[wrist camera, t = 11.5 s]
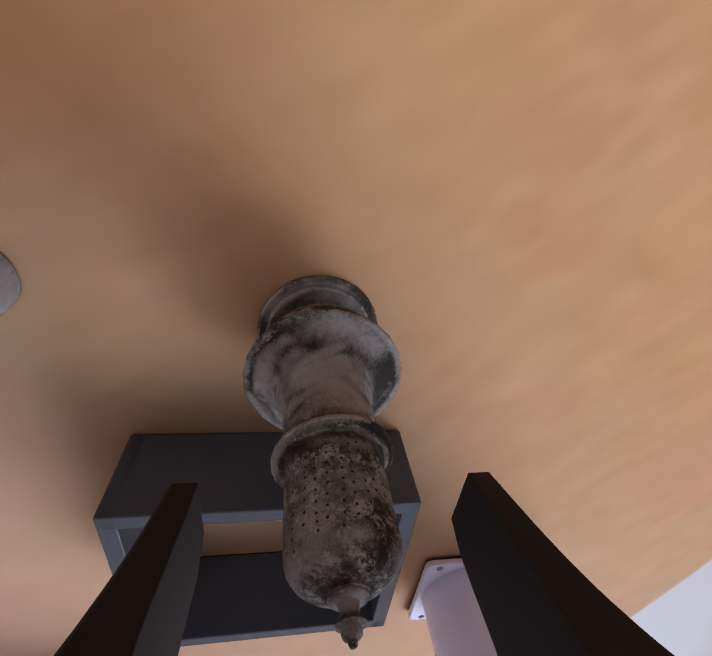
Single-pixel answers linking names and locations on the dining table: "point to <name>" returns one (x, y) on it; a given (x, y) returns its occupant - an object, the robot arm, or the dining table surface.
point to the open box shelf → (230, 505)
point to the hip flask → (8, 285)
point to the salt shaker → (329, 442)
